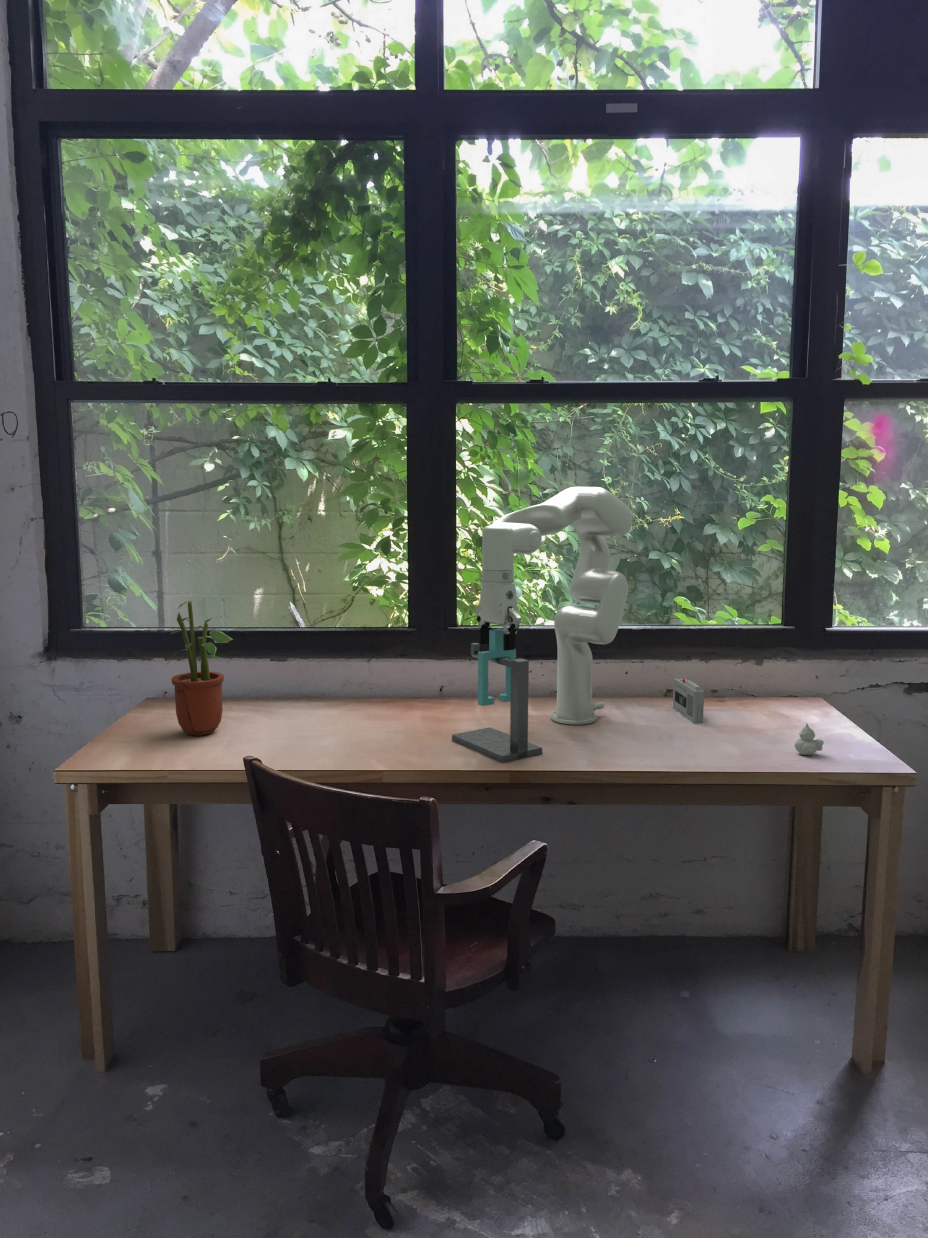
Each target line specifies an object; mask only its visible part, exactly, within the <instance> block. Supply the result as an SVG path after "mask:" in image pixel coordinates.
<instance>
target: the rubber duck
mask: <svg viewBox="0 0 928 1238" xmlns="http://www.w3.org/2000/svg"><path fill="white" fill-rule="evenodd" d="M798 736H799V739H797V740H796V741H795V743H794V748H795V750H796V752H798V753H799V755H803V756H812V755H814V754H815V753H816V752H817V751H821V752H822V750H823V745H824V743H825V742H824V740H823V739H820V738H819V739H815V737H816V733H815V731H814V730H813V728H811V727H810V726H809V725H808V723H807V722H806V724H805V726H804V727H803V728H802V729H801V731H800V732H799V733H798Z"/></svg>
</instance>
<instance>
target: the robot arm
mask: <svg viewBox="0 0 928 1238" xmlns="http://www.w3.org/2000/svg"><path fill="white" fill-rule="evenodd" d="M633 520H634V519H633V513H632V511H631V509H630V508H629V506H628V505H626V503H625V502H623V501H622V500H621V499H619V497H617V496H616V495H615V494H614V493H612V492H611V491H609V490H607V489H606V488H603V487H599V486H571V487H568V488H566V489H564V490H562V491H560V492H558V493H557V494H556V495H554V496H552V497H551V498H549V499H547V500H544V502H541V503H539V504H535V505H531V506H528V507H525V508H521V509H518V510H516V511H513V512H510V513H507V514H505V515H502V517H500V518H497V519H496V520H495V521H493V522H492V523H491V524H489V525H486V526H484V527H483V529H482V536H481V537H482V538H481V540H482V543H481V544H482V545H481V547H482V549H481V550H482V551H481V558H482V559H481V562H482V564H481V567H482V569H481V571H482V572H481V580H482V582H481V587H480V594H479V605H478V606H477V607H476V608H475V609H474V612H475V616H476V621H477V623H478V625H477V626H478V628H479V644H480V645H489V630H493V628H492V627H491V624H492V625H493V624H494V625H498V626H501V627H502V630H504V631H505V634H503V650H505V651H507V650H514V649H516V634H518V629H519V628H520V624H521V622H522V616H520V614H519V613H518V612H519V611H518V609H519V608H518V597H517V590H516V584H515V583H514V564H515V563H514V562H515V561H514V559H515V557H514V555H530V554H534V553H535V552H537V551H538V549H539V548H540V547H541V544H542V539H543V537H545V536H550V535H554V534H558V533H560V532H561V531H562V530H564V529H566V528H567V527H568V526H570V525H572V524H573V526H574V530H575V532H576V535H577V539H578V542H579V549H580V550H579V555H578V560H577V563H576V566H575V570H574V573H573V575H572V579H571V583H570V589H569V594H570V596H571V598H572V599H573V600H574V601H576V602H578V603H582V604H588V605H598V606H599V607H592V606H586V605H585V606H584V605H576V604H574V605H573V604H570V605H565V606H562V607H561V608H559V609H558V610H557V612H556V613H555V617H554V621H553V622H554V626H553V627H554V632H555V637H556V645H557V659H556V660H557V663H556V664H557V667H556V668H557V669H556V710H554V711H553V712H551V713H550V719H551V721H553V722H556V723H560V724H563V725H571V726H572V725H574V726H576V725H577V726H579V725H580V726H581V725H588V724H592V723H594V722H595V723H596V721H597V718H598V717H597V714H596V713H595V711H597V710H602V709H605V704H604V702H603V701H599V702H594V701H592V695H593V694H592V690H593V689H592V687H593V686H592V685H593V653H592V651H591V648H590V645H589V644H588V643H590V644H596V645H607V644H610V643H612V642H613V641H614V639H615V638H616V635H618V634H617V633H618V631H619V628H620V627H619V626H620V624H621V621H622V620H621V619H622V617H623V613H624V609H625V607H626V603H627V599H628V593H629V584H628V580H627V578H626V576H625V575H624V574H623V573H622V572H619V571H615V570H609V566H610V561H611V551H610V548H609V545H608V544H607V542H606V540H605V538H604V536H607V537H610V536H611V537H623V536H625V535H627V534H628V533H629V532H630V531H631V530H632V526H633V522H634V521H633Z"/></svg>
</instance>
